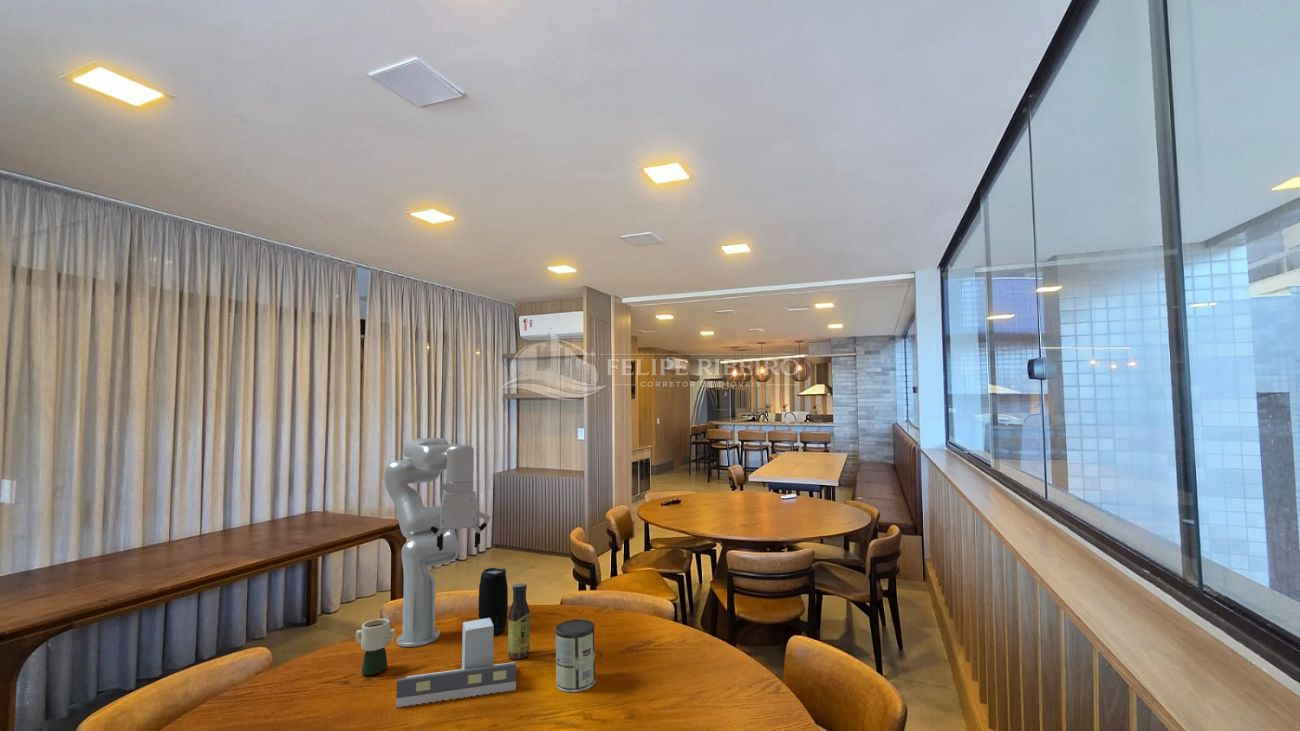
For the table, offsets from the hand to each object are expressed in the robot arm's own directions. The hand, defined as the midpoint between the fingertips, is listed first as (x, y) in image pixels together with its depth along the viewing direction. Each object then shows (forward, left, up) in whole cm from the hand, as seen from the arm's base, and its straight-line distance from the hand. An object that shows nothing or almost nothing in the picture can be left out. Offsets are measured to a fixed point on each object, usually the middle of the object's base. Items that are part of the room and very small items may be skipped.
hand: (458, 548), depth 151 cm
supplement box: (+12, +6, -30) cm, 33 cm away
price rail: (+18, +2, -30) cm, 35 cm away
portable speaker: (-24, +9, -32) cm, 41 cm away
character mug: (-4, -22, -32) cm, 39 cm away
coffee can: (+20, +31, -32) cm, 49 cm away
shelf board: (+13, +2, -32) cm, 35 cm away
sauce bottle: (-2, +17, -32) cm, 37 cm away
